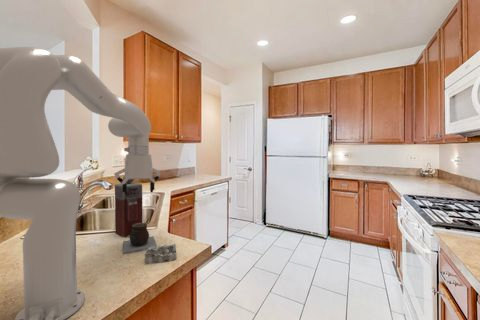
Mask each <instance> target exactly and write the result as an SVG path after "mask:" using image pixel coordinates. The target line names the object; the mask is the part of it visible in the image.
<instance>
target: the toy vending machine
mask: <svg viewBox="0 0 480 320" xmlns="http://www.w3.org/2000/svg"><path fill="white" fill-rule="evenodd" d="M122 179H123V180H124V179H125V174H124V175H123V176H122ZM134 180H135V179H129V180H128V181H127V182H126V184H127V194H125V192H123V184H122V183H121V182H120V183H116V184H115V185H114V214H115V215H114V219H115V222H114V223H115V224H114V227H115V228H114V230H115V231H114V232H115V233H114V234H116V235H117V236H120V237H121V238H126V237H127V236H128V237H130V234H131V232H132V225H134V224H137V223H144V221H143V185H142V183H139V182H134Z"/></svg>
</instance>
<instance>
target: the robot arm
mask: <svg viewBox="0 0 480 320" xmlns="http://www.w3.org/2000/svg"><path fill="white" fill-rule="evenodd" d="M58 90H59V91H62V90H63V91H66V92H68V93H69V95H70V96H72V97H74V98H75V99H76V100H77V102H79V103H81V104H82V105H83V106H84V107H85V108H87V110H89V111H90V112H91V113H94V114H97V115H100V116H103V117H108V118H111V119H110V120H109V122H108V125H107V127H108V130H109V132H110V133H111V134H112V135H113V136H116V137H117V138H118V137H119V138H128V146H127V147H124V149H123V150H124V151H123V152H127V153H126V154H125V158H124V159H125V160H124V168H122V169H120V170H118V171H117V172H114V174H113V175H114V177H115V179H116V180H117V181H119V183H120V184H121V183H122V184H123V192H125V194H127V184H126V182H127V181H128V180H129V179H134V180H146V179H147V180H150V182H149V183H150V184H149V186H150V187H149V191H150V193H153V192H154V191H155V183H156V182H157V180H159V178H160V177H161V174H162V171H161V170H158V169H156V168H154V167H153V160H152V159H153V158H152V154H150V152H149V151H150V150H149V149H150V147H149V145H150V141H149V137H150V135H149V134H150V133H151V131H152V124H151V121H150V120H149V117H148V116H147V115H146V113H145V112H144V111H143V109H141V108H140V107H139V106H138V105H136V104H135V103H133V102H131V101H129V100H127V99H125V98H123V97H121V96H119V95H117V94H115V93H113V92H112V91H111V89H109V88H108V87H107V85H105V83H104V82H103V81H102V80H101V79H100V78H99V76H97V74H95V73H94V71H93V70H92V69H91V68H90V66H88V65H87V63H85V61H83V60H82V59H80V58H79V57H77V56H75V55H70V54H53V53H52V52H51V51H48V50H46V49H43V48H39V47H35V46H34V47H33V46H32V47H31V46H15V47H5V48H4V47H3V48H0V217H1V218H5V219H11V220H13V219H14V220H30V221H31V222H30V225H29V227H28V228H27V230H26V232H25V234H24V237H23V240H22V265H23V268H22V269H23V302H24V305H23V308H22V309H20V310H19V311H18V312H17V314H16V315H15V316H14V320H66V319H67V318H70V317H71V316H72V315H74V314H76V312H78V311H79V310H80V309H81V308H82V307H83V304H84V303H85V300H86V299H85V297H86V296H85V293H84V291H82V290H79V289H78V284H77V283H78V280H77V278H78V277H77V273H78V272H77V271H78V270H77V232H76V231H77V217H78V212H79V208H80V203H81V193H80V190H79V188H78V187H77V186H76V185H75V184H74V183H72V182H70V181H68V180H66V179H65V180H64V179H60V178H59V179H57V178H40V177H45V176H48V175H51V174H53V173H55V172H56V171H57V169H58V168H59V167H60V157H59V152H58V149H57V145H56V143H55V140H54V137H53V135H52V132H51V131H52V130H51V129H50V126H49V123H48V119H47V116H46V113H45V105H46V101H47V99H48V96H49V94H50V93H51V91H58ZM123 173H124V175H125V179H124V180H123V178H122V177H121V176H120V175H121V174H123ZM153 173H156V175H155V176H154V178H153Z"/></svg>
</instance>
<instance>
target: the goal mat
mask: <svg viewBox="0 0 480 320" xmlns="http://www.w3.org/2000/svg"><path fill="white" fill-rule="evenodd" d="M153 246H154V247H158V245H157V241H156V239H155V237H154V236H153V235H152V236H149V238H148V241H147V242H146V243H145V244H144V245H141V246H134V245H132V244H131V242H130V239H128V240H123V241H122V251H123V252H122V254H123V255H126V254H131V253H132V254H133V253H137V252H141V251H146V250H147V249H148V248H150V247H153Z"/></svg>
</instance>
